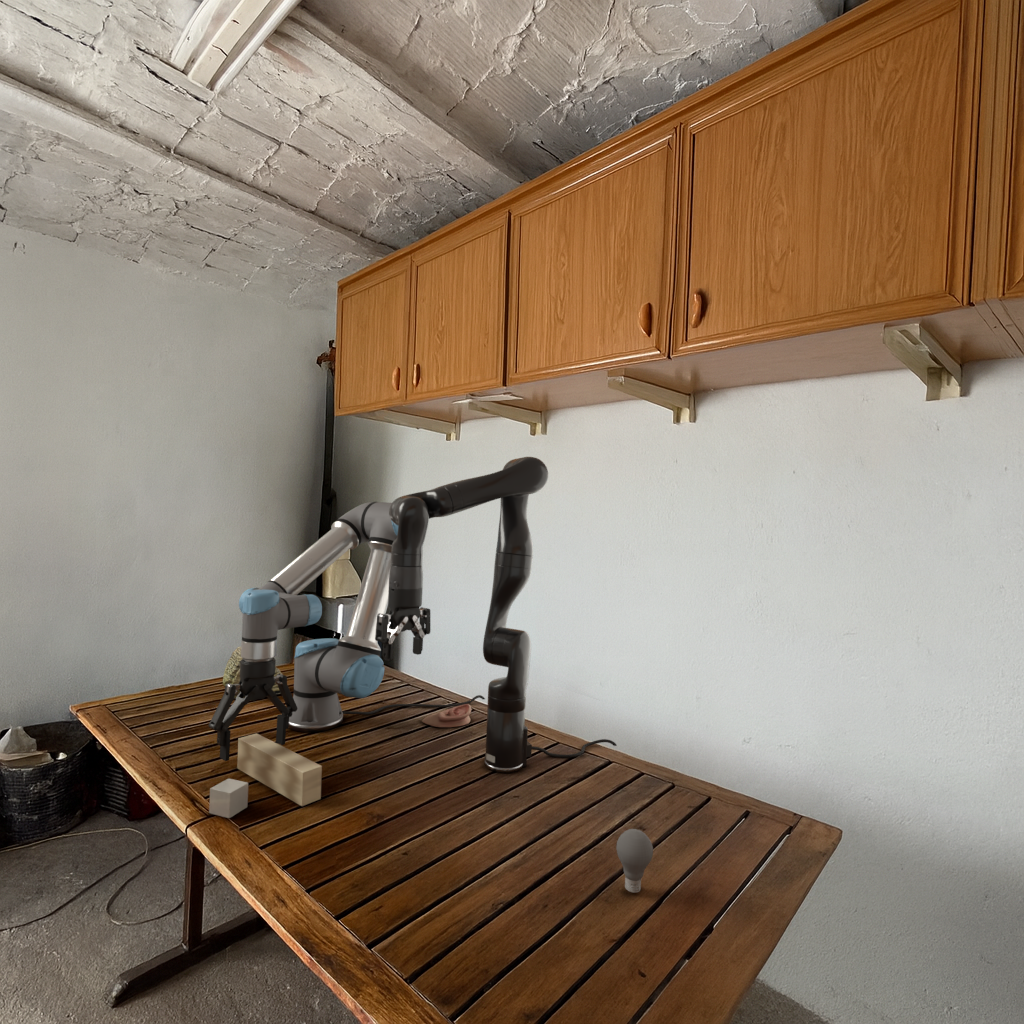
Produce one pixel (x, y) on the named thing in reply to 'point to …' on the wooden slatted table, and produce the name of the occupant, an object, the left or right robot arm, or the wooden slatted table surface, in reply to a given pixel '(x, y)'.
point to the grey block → (228, 798)
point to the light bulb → (634, 857)
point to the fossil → (233, 671)
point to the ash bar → (280, 769)
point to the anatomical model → (450, 717)
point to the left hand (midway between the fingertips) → (253, 751)
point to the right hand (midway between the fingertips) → (402, 657)
